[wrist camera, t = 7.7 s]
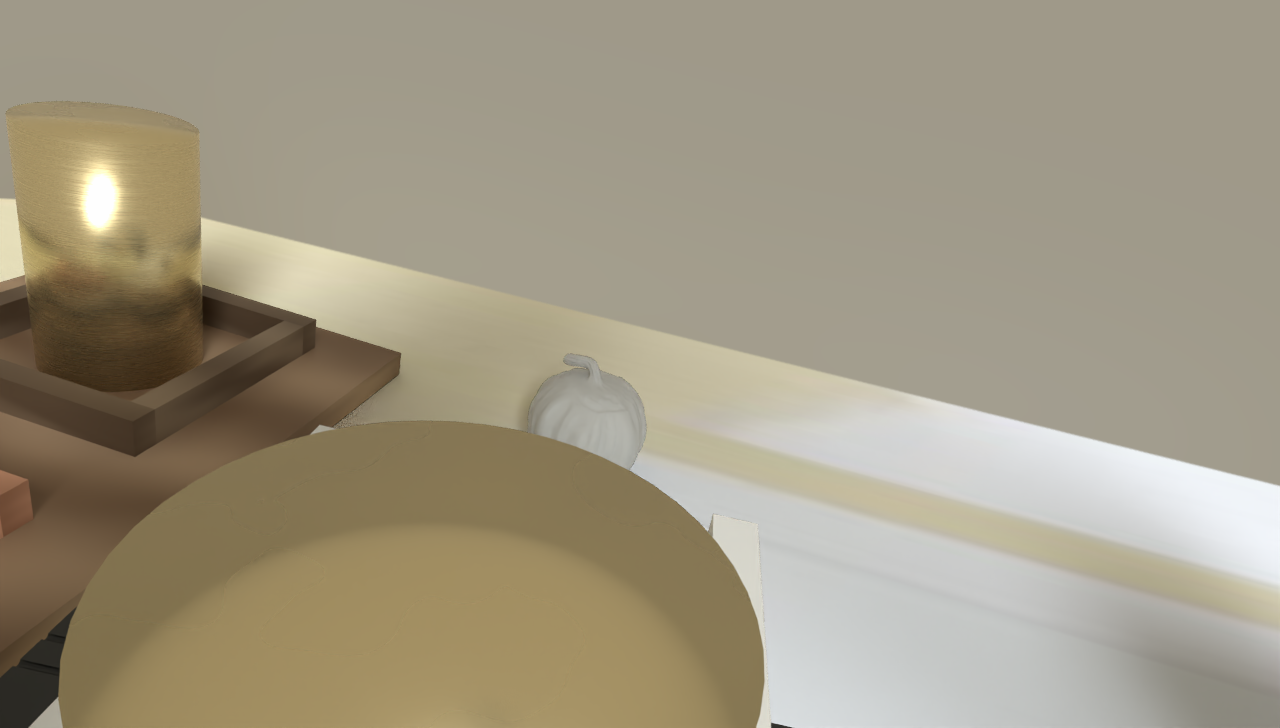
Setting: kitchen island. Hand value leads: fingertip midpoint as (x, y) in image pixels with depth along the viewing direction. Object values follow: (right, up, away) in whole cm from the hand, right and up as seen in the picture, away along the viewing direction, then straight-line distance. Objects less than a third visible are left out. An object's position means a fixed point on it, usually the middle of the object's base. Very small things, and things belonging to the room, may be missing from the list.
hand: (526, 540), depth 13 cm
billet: (-20, +3, +20) cm, 29 cm away
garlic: (-1, -2, +23) cm, 23 cm away
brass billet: (-2, -8, -2) cm, 8 cm away
